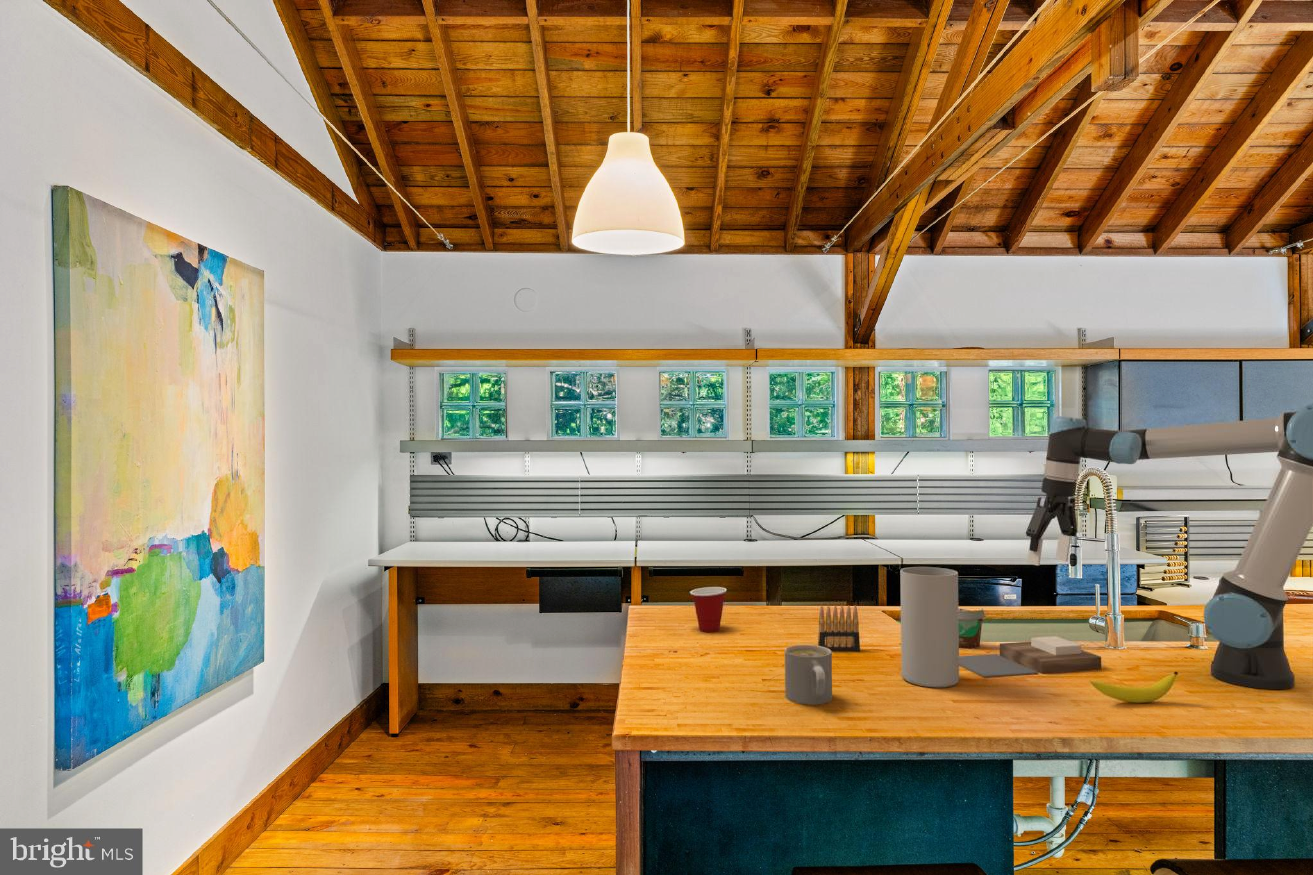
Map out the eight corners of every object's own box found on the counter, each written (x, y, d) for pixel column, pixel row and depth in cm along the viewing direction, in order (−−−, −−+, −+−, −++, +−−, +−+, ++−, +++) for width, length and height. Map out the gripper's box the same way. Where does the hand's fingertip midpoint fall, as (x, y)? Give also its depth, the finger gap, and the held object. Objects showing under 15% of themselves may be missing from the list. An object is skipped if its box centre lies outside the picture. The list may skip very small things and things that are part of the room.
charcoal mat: (1037, 673, 181) (1037, 672, 181) (983, 677, 179) (983, 675, 179) (996, 655, 197) (996, 653, 197) (945, 658, 195) (945, 657, 195)
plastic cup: (689, 625, 232) (689, 585, 232) (725, 625, 232) (725, 585, 232) (690, 634, 221) (690, 592, 222) (728, 634, 221) (728, 592, 221)
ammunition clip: (858, 649, 204) (858, 604, 204) (860, 651, 202) (859, 605, 202) (817, 649, 204) (817, 604, 205) (819, 651, 203) (818, 605, 203)
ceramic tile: (1081, 653, 188) (1081, 645, 188) (1055, 655, 186) (1055, 646, 186) (1055, 644, 196) (1055, 636, 196) (1031, 645, 195) (1031, 637, 195)
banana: (1085, 701, 162) (1085, 671, 162) (1172, 699, 163) (1172, 669, 163) (1094, 706, 159) (1093, 675, 159) (1182, 704, 160) (1182, 673, 160)
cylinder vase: (922, 690, 170) (921, 577, 170) (890, 674, 182) (889, 568, 182) (971, 685, 173) (969, 574, 173) (936, 670, 185) (935, 565, 185)
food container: (933, 646, 206) (933, 609, 207) (937, 641, 212) (936, 604, 212) (983, 652, 201) (983, 613, 201) (985, 646, 206) (985, 608, 206)
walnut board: (1101, 669, 185) (1101, 656, 185) (1041, 673, 182) (1041, 660, 182) (1055, 651, 200) (1055, 640, 200) (999, 655, 197) (999, 643, 197)
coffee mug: (782, 689, 172) (782, 644, 172) (828, 689, 171) (827, 644, 171) (790, 710, 159) (789, 661, 159) (838, 710, 158) (838, 661, 158)
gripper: (1070, 475, 202) (1058, 554, 204) (1018, 476, 187) (1006, 561, 190) (1099, 481, 196) (1087, 562, 198) (1048, 482, 181) (1035, 569, 183)
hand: (1047, 562), depth 194 cm, fingers open, 13 cm apart
